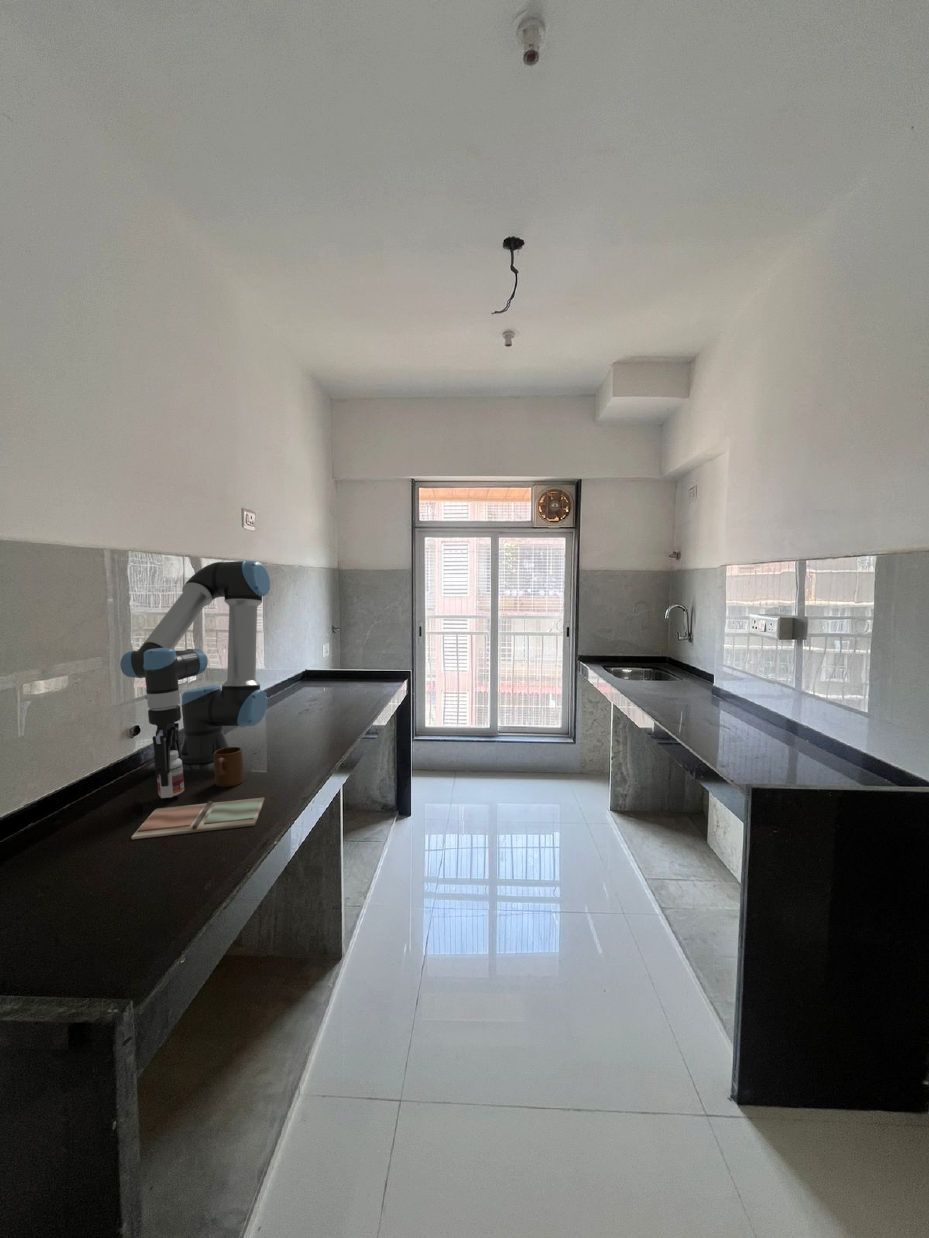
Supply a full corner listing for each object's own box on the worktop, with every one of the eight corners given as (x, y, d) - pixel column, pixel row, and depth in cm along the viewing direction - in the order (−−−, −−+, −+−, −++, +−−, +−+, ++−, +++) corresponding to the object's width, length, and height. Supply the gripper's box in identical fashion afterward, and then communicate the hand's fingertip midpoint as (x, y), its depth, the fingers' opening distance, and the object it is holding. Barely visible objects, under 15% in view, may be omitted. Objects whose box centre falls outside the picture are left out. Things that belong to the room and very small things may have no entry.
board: (155, 811, 140) (155, 805, 140) (264, 799, 145) (264, 794, 145) (131, 839, 124) (131, 833, 124) (254, 825, 129) (254, 819, 129)
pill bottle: (154, 794, 148) (150, 753, 147) (178, 786, 152) (175, 747, 152) (164, 799, 144) (160, 758, 143) (188, 791, 148) (185, 751, 148)
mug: (233, 793, 150) (231, 758, 150) (204, 794, 150) (202, 760, 149) (247, 777, 162) (246, 746, 162) (221, 779, 162) (219, 747, 161)
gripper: (160, 700, 155) (167, 780, 157) (134, 717, 136) (142, 808, 138) (189, 697, 156) (196, 777, 158) (168, 714, 137) (175, 804, 140)
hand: (171, 791), depth 148 cm, fingers closed on pill bottle, 6 cm apart
